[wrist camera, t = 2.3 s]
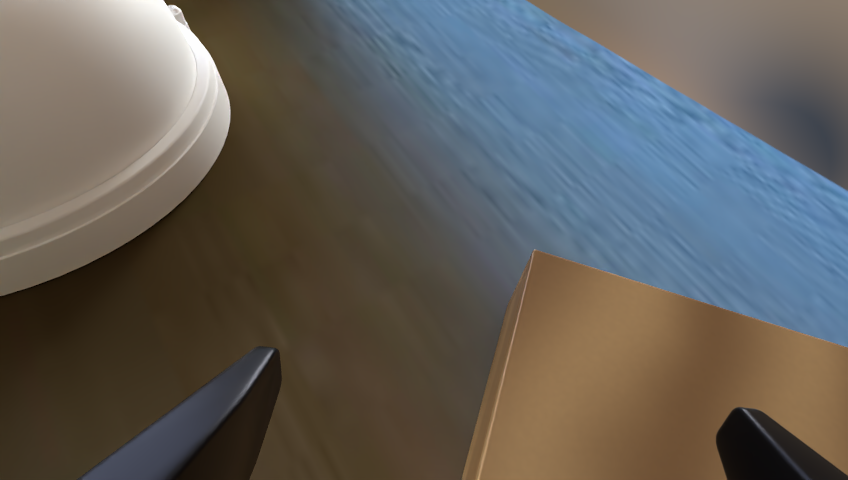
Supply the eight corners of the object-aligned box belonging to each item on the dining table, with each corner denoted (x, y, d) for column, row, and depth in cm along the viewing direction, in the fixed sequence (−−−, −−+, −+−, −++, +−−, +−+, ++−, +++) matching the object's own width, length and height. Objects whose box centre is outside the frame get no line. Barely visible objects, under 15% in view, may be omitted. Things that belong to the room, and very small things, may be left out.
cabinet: (773, 394, 25) (869, 353, 20) (820, 728, 17) (998, 798, 12) (507, 305, 27) (534, 248, 22) (439, 562, 19) (456, 563, 14)
